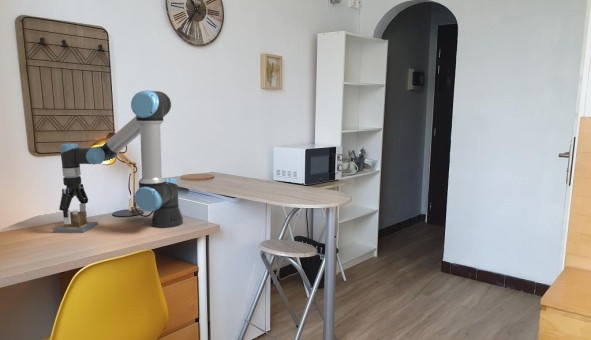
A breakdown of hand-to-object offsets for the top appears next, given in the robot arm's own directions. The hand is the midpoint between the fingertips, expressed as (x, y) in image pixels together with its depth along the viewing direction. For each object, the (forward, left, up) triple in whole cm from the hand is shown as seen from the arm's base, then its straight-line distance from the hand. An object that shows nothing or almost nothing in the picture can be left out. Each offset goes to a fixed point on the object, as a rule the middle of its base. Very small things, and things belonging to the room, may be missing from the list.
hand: (75, 220), depth 207 cm
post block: (0, 0, -4) cm, 4 cm away
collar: (0, 0, -3) cm, 3 cm away
